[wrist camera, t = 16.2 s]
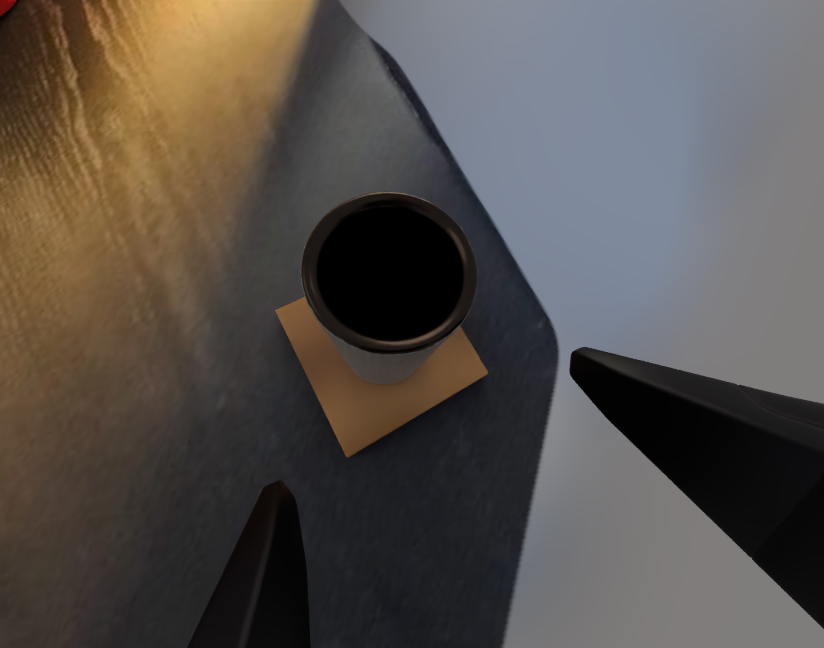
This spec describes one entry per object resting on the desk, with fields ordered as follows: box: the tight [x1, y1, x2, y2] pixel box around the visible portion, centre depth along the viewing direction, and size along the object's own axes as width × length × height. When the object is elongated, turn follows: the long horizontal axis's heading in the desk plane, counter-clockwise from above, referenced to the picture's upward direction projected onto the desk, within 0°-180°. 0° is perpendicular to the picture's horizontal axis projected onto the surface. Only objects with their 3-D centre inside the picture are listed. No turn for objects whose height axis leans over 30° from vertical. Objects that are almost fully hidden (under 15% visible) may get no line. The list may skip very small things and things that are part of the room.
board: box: [276, 297, 488, 458], centre depth 18 cm, size 9×9×1 cm
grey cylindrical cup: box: [301, 192, 478, 385], centre depth 13 cm, size 4×4×10 cm
